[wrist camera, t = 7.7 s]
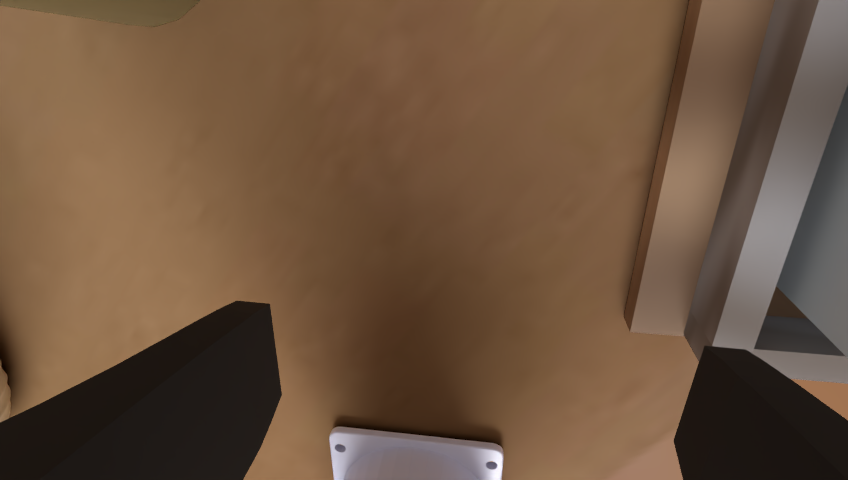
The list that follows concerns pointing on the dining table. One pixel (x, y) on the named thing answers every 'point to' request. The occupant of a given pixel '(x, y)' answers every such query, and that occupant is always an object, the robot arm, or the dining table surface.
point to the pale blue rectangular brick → (824, 242)
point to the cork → (111, 9)
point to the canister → (4, 396)
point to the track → (741, 180)
